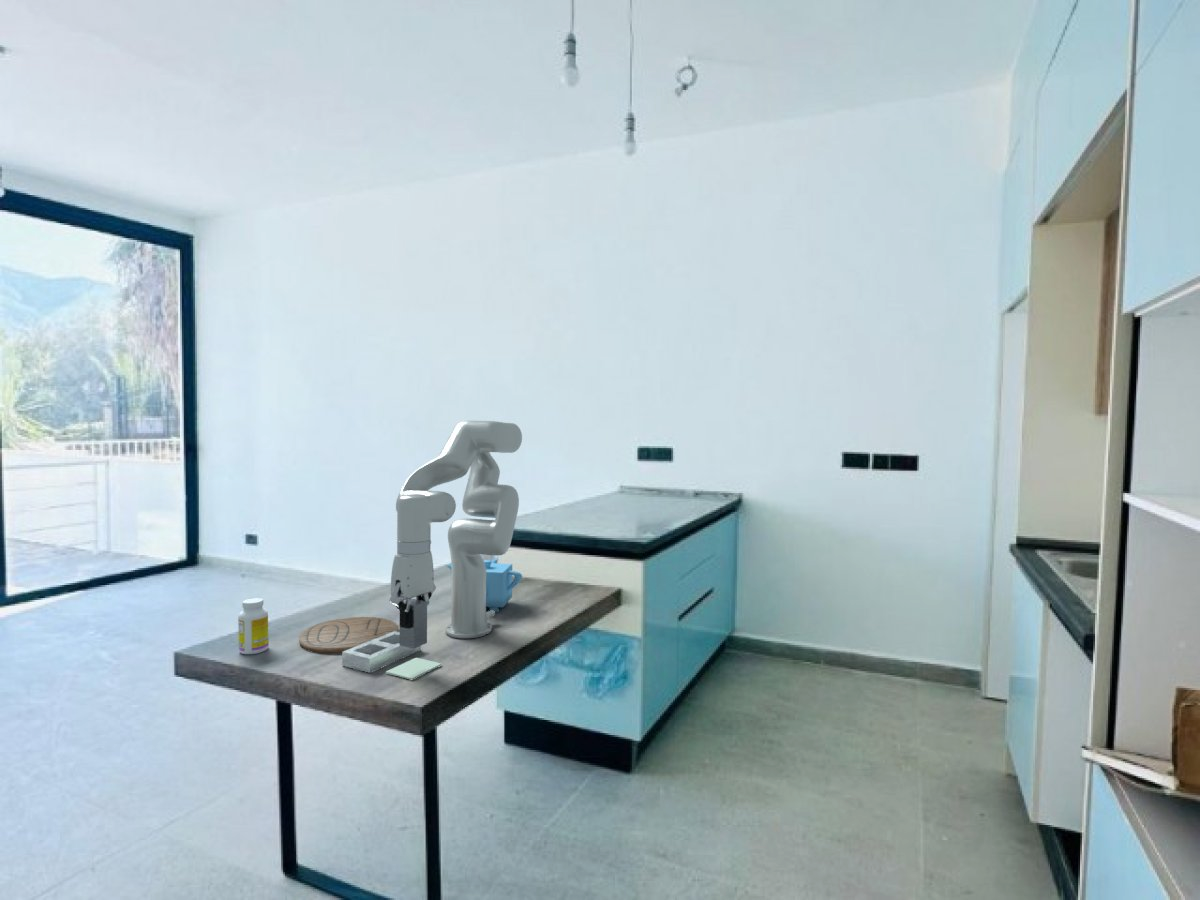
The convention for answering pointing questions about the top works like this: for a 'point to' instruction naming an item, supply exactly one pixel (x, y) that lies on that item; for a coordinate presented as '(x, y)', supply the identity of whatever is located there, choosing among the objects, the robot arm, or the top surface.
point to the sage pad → (413, 668)
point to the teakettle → (499, 583)
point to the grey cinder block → (376, 653)
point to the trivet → (344, 633)
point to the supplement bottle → (253, 627)
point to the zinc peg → (415, 626)
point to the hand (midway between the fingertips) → (413, 623)
